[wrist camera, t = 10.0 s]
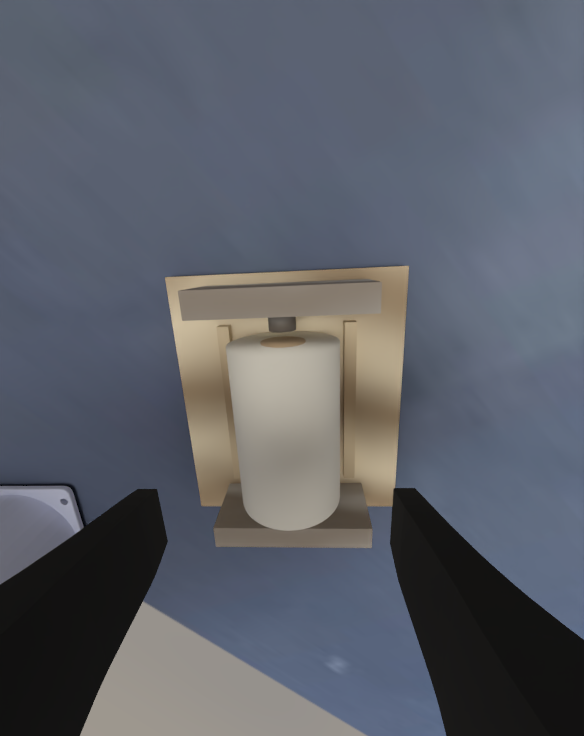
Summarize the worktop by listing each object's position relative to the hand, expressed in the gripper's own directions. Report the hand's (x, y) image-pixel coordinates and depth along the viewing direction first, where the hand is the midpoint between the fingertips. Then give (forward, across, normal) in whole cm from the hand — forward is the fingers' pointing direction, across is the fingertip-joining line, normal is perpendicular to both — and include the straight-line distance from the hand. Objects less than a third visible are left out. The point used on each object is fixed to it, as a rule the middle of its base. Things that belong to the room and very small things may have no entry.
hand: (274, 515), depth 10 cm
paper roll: (+8, 0, 0) cm, 8 cm away
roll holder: (+9, 0, 0) cm, 9 cm away
